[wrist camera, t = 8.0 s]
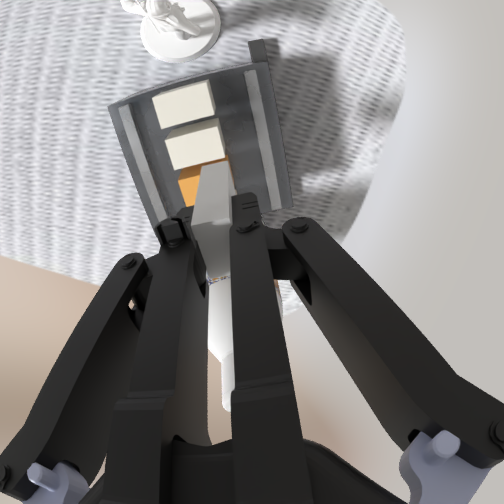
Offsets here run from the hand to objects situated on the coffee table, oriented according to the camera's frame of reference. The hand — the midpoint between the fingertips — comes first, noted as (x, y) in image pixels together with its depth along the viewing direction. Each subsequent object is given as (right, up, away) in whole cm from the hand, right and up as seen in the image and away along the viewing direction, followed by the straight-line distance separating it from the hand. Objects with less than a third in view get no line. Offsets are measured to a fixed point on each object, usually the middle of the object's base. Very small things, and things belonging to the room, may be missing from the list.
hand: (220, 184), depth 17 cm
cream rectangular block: (-3, +7, +2) cm, 8 cm away
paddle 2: (-2, +5, +4) cm, 6 cm away
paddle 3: (-1, +2, +6) cm, 6 cm away
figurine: (-4, +16, +3) cm, 17 cm away
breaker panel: (-2, +7, +10) cm, 12 cm away
